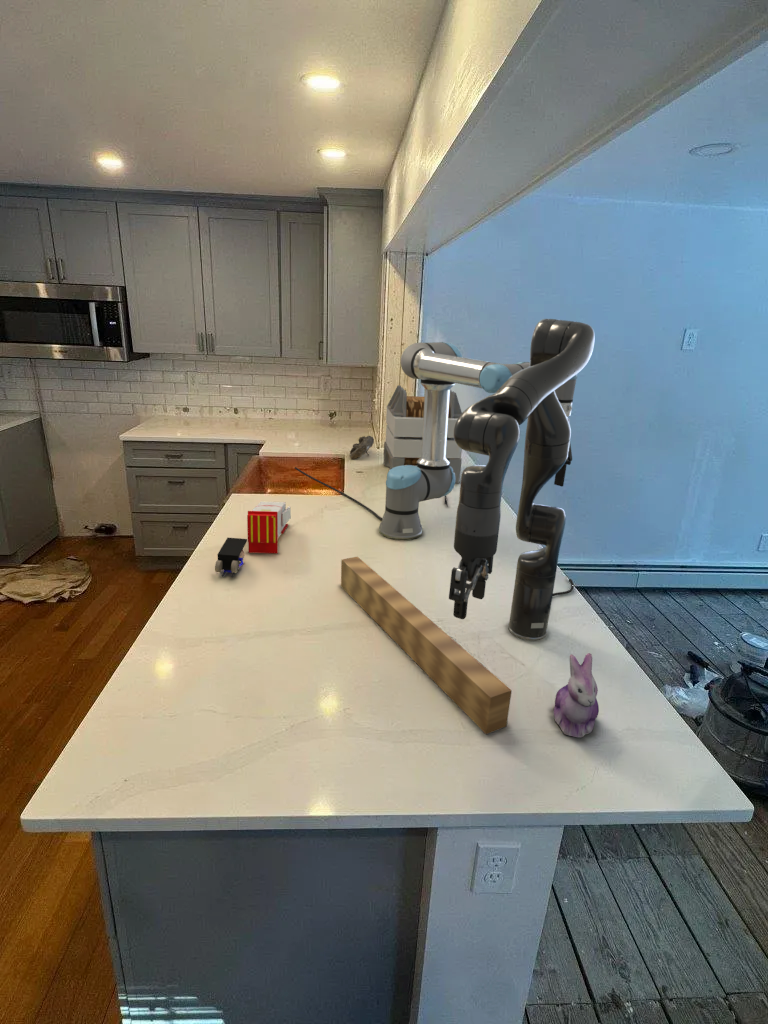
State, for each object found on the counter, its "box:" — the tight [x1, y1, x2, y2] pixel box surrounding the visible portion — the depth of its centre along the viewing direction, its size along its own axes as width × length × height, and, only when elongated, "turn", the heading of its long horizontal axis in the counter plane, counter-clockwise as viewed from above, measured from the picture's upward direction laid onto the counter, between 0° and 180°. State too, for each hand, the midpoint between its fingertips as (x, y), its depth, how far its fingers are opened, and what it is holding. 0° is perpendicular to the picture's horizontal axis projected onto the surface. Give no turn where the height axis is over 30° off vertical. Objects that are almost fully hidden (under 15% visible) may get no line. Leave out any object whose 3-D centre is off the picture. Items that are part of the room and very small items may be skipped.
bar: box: [340, 556, 513, 735], centre depth 134 cm, size 66×5×8 cm, turn 29°
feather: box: [444, 495, 449, 508], centre depth 241 cm, size 2×28×2 cm
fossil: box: [349, 435, 375, 460], centre depth 301 cm, size 22×10×15 cm
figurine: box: [553, 652, 600, 738], centre depth 108 cm, size 9×10×15 cm
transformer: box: [383, 384, 463, 484], centre depth 268 cm, size 34×33×41 cm
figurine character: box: [214, 537, 248, 578], centre depth 166 cm, size 7×8×15 cm
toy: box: [246, 500, 292, 554], centre depth 190 cm, size 12×13×30 cm
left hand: (545, 489), depth 165 cm, fingers open, 13 cm apart
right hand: (469, 607), depth 104 cm, fingers open, 8 cm apart
